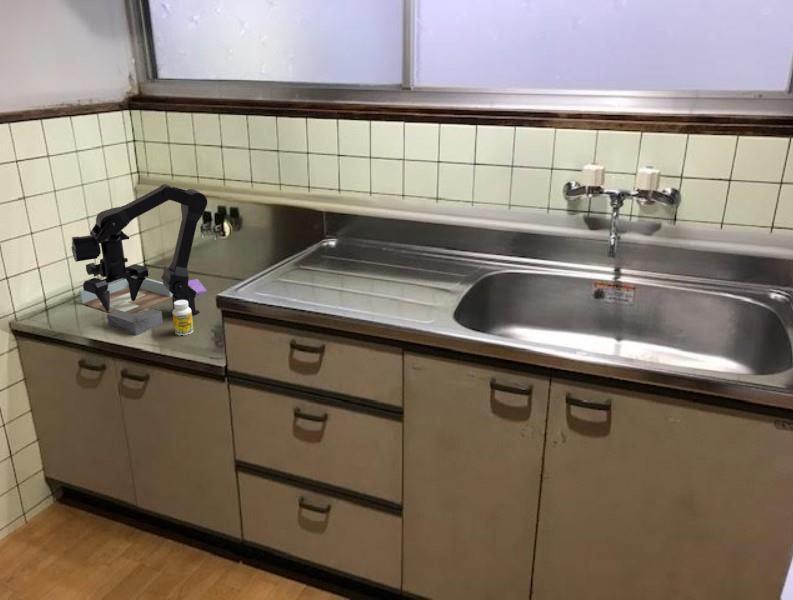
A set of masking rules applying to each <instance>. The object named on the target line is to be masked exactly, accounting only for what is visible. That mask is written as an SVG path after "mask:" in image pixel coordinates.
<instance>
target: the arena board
mask: <svg viewBox="0 0 793 600" xmlns="http://www.w3.org/2000/svg"><path fill="white" fill-rule="evenodd" d="M171 298H172V299H173V297H172V296H171V297H169V296H165V295H162V294H158V293H154V292H151V291H147V290H144V289H139V291H138V294H137V297H136V299H135V301H132V300H131V296H130V290H129V287H127V288H124V289H121V290H118V291H116V292H113V293H110V309H109V311H106V310H105V308H104V307H103V305H102V303H101V302H100V300H99V298H96V299H94V300H91V301H88V302H85V303H82V304H81V305H83V304H84V306H86V305H88V306H87V307H89V306H90V307H89V308H93V307H94V308H93V309H96V308H97V310H100V311H102V312H105V313H111V312H113V311H116V310H120V311H124V312H127V313H130V314H135V313H137V312H140V311H142V310H144V309H147V308H149V307H151V306H154V305H157V304H160V303H162V302H164V301H166V300H169V299H171Z"/></svg>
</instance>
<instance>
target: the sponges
mask: <svg viewBox="0 0 793 600" xmlns="http://www.w3.org/2000/svg"><path fill="white" fill-rule="evenodd" d="M188 285H189V286H190V287H191V288H193V289H194V290H195V291H196V294H201V293H205V292H206V293H207V289H206V288H205V287H204V285H203V284H202V283H201V281H200V280H199V279H198V278H195V279H189V280H188ZM201 295H202V294H201Z"/></svg>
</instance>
